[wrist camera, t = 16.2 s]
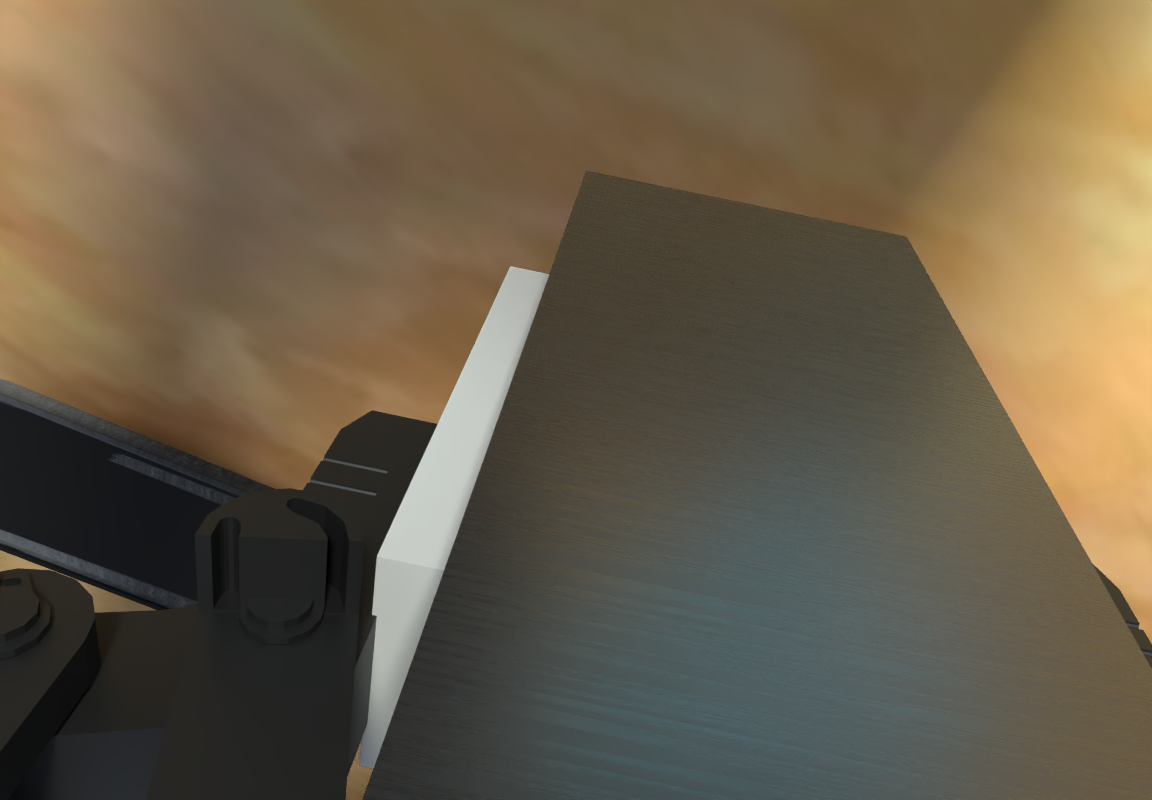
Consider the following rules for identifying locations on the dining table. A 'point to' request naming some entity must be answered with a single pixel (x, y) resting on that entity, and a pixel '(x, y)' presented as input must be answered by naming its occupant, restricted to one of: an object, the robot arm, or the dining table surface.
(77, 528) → the phone
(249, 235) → the dining table surface
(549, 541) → the grey block with bar
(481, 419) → the robot arm
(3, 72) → the dining table surface
